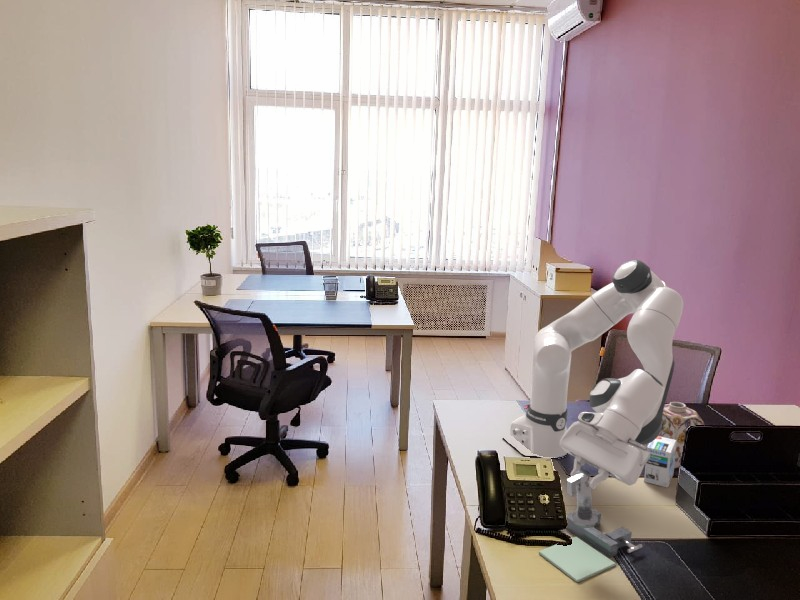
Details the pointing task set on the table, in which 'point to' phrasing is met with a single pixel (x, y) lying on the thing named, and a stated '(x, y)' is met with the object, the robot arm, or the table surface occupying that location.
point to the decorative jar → (678, 425)
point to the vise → (603, 537)
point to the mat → (577, 559)
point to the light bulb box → (660, 461)
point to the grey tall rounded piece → (582, 500)
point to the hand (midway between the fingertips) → (581, 482)
